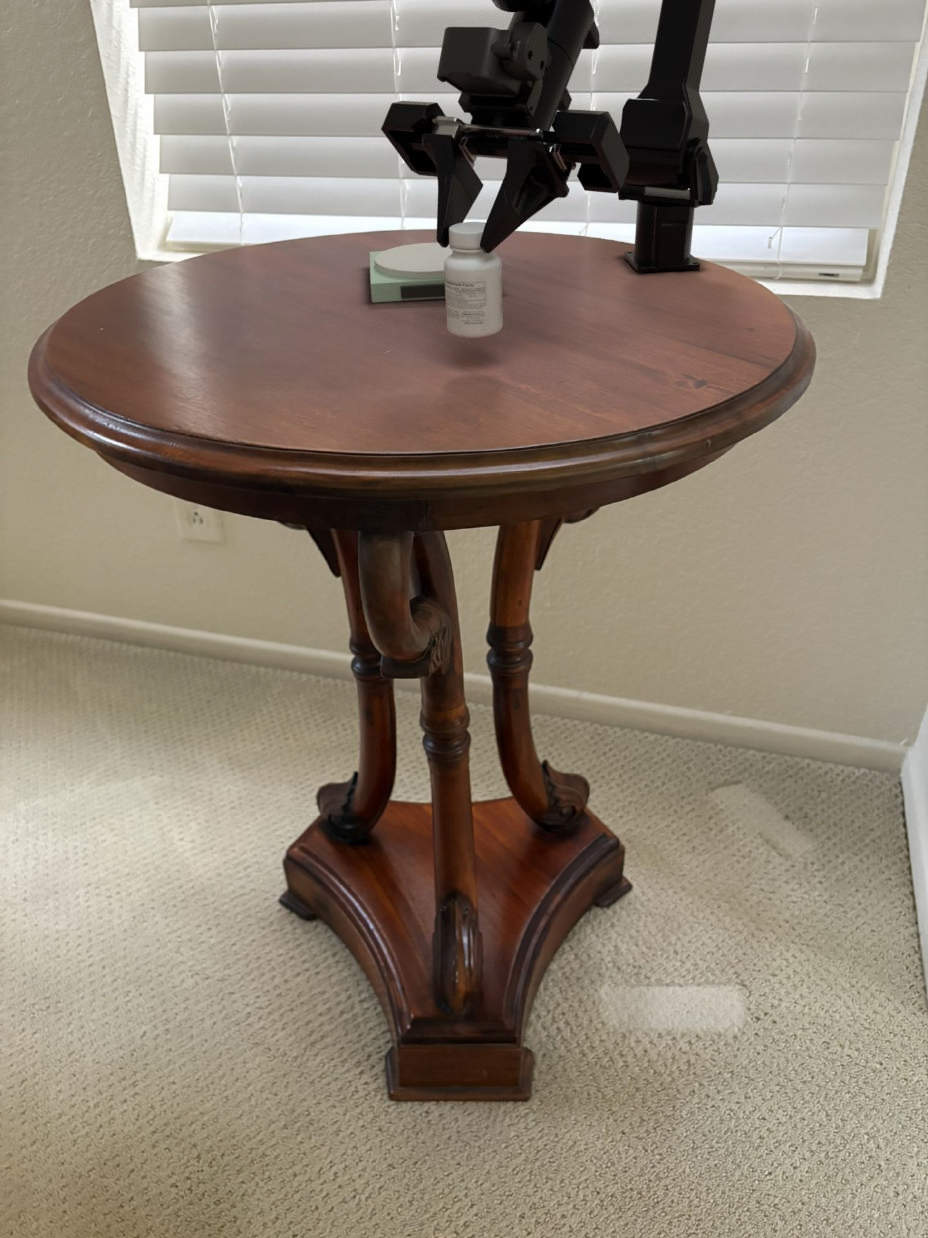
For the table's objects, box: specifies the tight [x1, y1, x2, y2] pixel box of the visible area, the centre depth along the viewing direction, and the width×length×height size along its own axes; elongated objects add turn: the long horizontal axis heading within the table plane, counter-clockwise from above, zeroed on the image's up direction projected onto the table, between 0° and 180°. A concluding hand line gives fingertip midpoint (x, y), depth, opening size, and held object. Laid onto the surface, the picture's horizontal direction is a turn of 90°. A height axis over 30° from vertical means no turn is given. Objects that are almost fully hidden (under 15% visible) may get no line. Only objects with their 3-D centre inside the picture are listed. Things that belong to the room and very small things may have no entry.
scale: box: [369, 242, 452, 303], centre depth 100 cm, size 12×12×2 cm
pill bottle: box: [444, 221, 504, 339], centre depth 77 cm, size 4×4×8 cm
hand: (461, 247), depth 74 cm, fingers closed on pill bottle, 3 cm apart
